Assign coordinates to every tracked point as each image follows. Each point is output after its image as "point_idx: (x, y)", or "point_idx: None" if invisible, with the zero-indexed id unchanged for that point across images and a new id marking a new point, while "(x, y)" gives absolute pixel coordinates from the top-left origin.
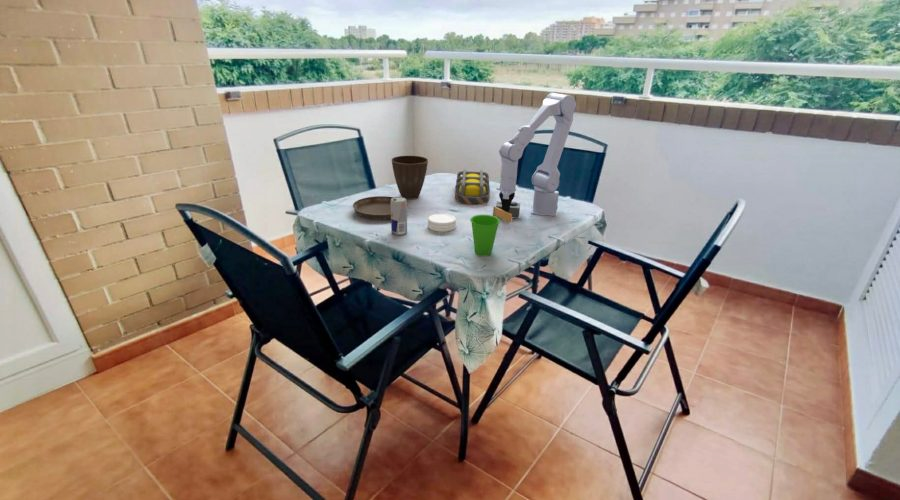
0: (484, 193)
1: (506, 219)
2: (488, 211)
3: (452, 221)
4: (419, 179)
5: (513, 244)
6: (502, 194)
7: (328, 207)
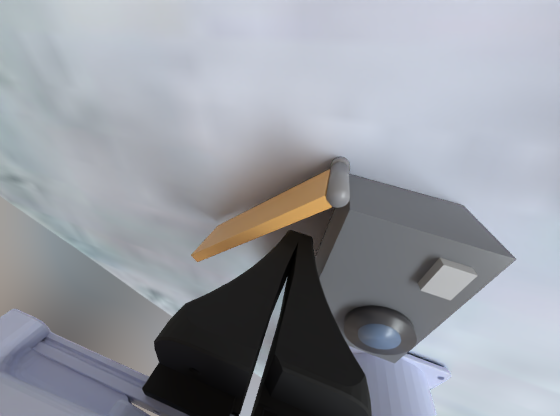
0: None
1: (232, 220)
2: (475, 141)
3: None
4: None
5: (51, 183)
6: (198, 368)
7: None
